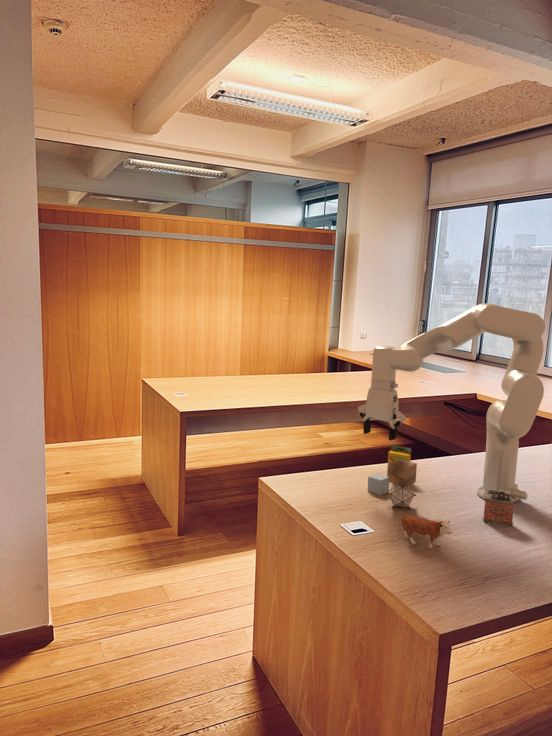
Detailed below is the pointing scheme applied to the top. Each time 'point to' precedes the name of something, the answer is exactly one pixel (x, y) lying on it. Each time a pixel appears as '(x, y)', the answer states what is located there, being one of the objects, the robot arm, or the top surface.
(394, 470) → the walnut block
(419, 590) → the top surface
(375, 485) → the slate block
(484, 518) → the lighter
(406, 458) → the crayon box
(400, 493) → the game die
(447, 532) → the bull figurine
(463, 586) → the top surface
